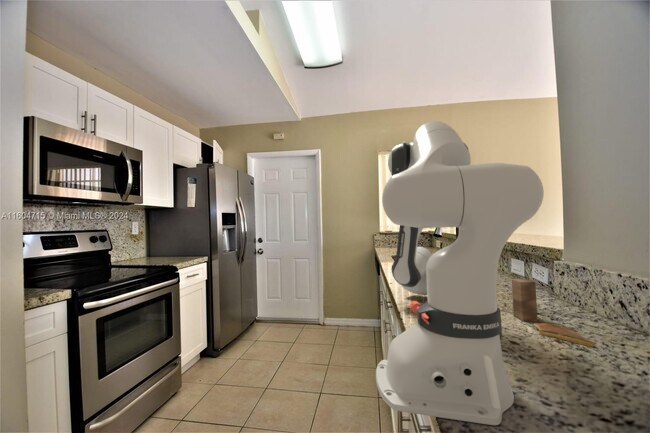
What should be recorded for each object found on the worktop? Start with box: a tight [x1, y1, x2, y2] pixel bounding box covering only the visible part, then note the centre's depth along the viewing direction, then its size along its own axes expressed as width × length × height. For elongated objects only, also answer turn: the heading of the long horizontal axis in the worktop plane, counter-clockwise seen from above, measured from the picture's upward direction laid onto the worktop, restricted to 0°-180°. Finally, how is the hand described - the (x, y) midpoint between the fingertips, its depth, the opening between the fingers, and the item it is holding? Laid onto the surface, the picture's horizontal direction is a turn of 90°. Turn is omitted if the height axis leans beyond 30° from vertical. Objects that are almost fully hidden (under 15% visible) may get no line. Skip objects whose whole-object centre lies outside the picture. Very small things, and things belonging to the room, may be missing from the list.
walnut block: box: [511, 278, 539, 322], centre depth 77 cm, size 4×4×11 cm
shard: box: [533, 322, 597, 348], centre depth 64 cm, size 11×8×2 cm
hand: (488, 292), depth 83 cm, fingers open, 8 cm apart
